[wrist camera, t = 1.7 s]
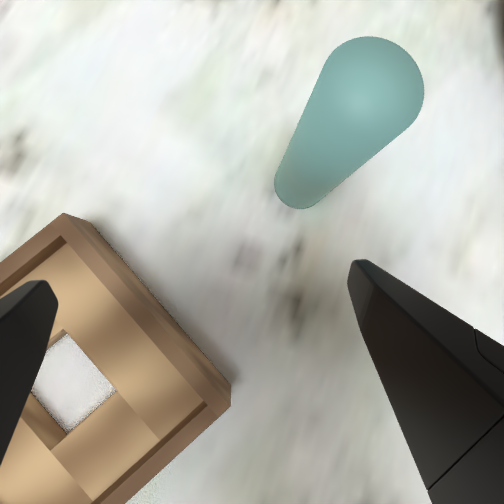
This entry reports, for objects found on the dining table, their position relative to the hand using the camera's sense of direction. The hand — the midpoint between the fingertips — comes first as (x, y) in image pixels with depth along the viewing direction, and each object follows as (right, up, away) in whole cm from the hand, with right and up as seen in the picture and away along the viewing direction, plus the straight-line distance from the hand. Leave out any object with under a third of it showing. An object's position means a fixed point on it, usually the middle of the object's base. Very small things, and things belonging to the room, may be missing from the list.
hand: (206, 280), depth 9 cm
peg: (+5, +6, +15) cm, 17 cm away
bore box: (-11, -8, +13) cm, 19 cm away
